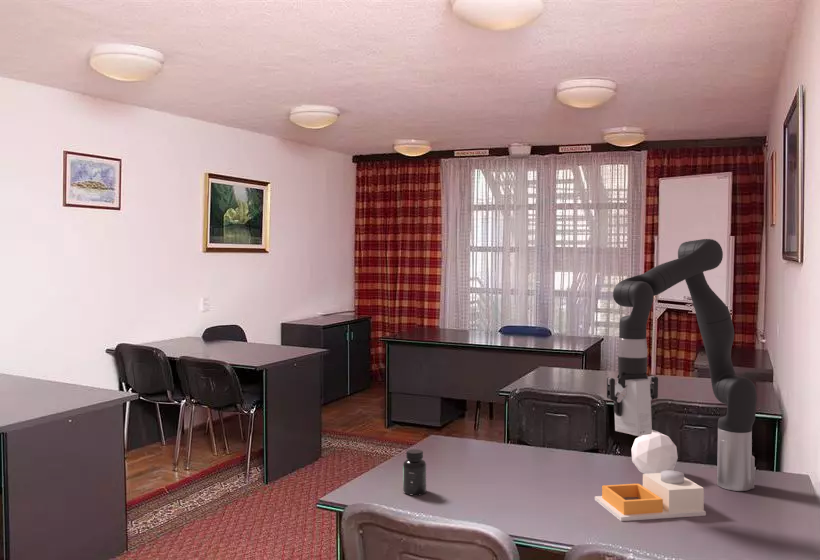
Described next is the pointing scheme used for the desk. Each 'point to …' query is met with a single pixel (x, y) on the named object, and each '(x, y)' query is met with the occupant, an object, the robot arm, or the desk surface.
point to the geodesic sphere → (654, 453)
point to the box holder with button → (654, 498)
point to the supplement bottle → (414, 472)
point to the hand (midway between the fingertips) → (632, 414)
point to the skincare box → (635, 408)
